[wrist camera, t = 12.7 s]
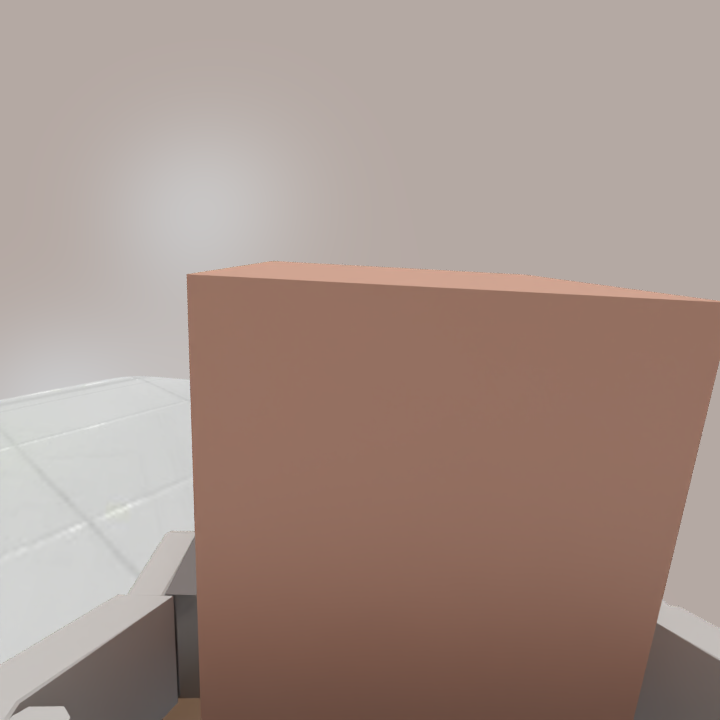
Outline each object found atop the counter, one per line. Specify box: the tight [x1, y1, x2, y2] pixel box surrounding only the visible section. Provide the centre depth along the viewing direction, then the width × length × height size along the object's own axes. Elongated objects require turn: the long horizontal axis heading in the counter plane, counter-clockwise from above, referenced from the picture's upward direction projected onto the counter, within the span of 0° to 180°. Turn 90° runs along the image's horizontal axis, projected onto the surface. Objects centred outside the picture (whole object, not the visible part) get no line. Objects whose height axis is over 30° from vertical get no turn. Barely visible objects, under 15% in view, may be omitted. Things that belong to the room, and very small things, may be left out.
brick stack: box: [187, 261, 720, 720], centre depth 8 cm, size 5×5×12 cm
